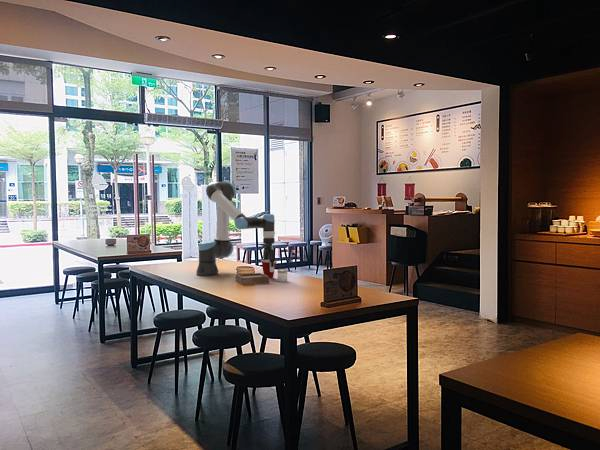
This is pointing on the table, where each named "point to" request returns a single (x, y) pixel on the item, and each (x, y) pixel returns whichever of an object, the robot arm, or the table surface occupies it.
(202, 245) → the robot arm
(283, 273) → the ceramic sugar jar
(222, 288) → the table surface
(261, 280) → the walnut riser
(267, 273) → the plastic cup
